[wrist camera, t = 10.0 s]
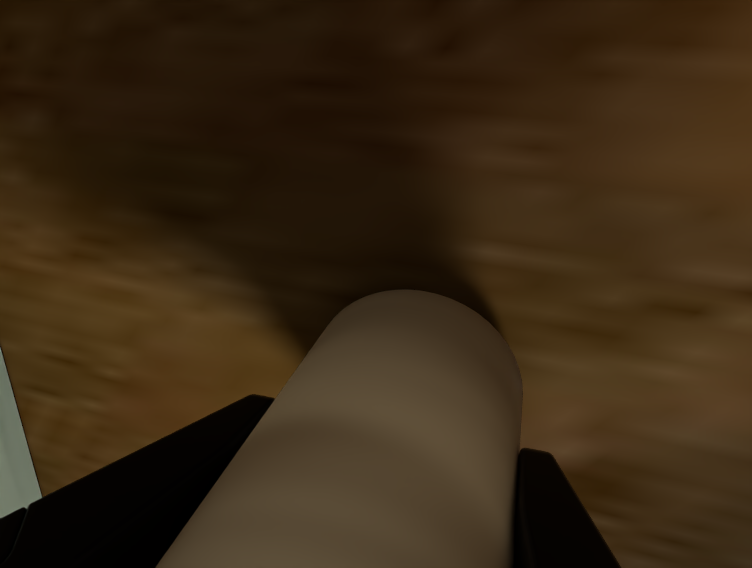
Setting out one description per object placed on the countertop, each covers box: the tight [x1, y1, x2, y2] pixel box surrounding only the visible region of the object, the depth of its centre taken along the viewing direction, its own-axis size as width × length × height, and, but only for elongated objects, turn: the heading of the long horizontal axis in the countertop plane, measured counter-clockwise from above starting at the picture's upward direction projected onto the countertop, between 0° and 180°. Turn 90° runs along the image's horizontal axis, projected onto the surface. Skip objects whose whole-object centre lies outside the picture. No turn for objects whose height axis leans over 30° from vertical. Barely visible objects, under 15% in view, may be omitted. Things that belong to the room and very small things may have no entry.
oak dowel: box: [155, 289, 523, 568], centre depth 7 cm, size 4×4×7 cm
